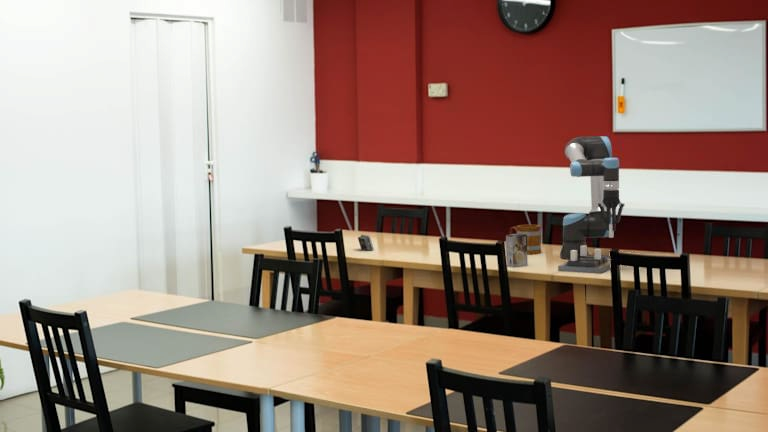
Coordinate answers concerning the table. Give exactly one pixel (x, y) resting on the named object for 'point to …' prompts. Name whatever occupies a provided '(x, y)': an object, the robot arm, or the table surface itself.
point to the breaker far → (583, 250)
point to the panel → (584, 269)
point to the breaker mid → (597, 254)
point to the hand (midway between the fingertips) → (611, 237)
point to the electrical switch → (365, 242)
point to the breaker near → (573, 255)
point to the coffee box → (516, 250)
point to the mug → (530, 237)
